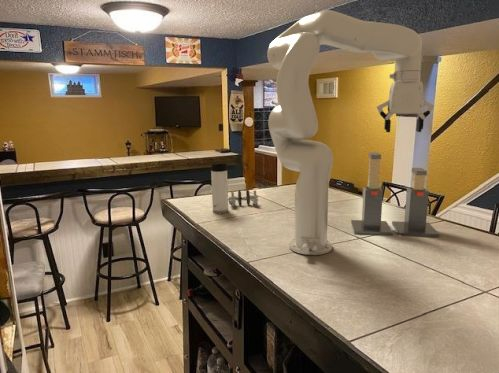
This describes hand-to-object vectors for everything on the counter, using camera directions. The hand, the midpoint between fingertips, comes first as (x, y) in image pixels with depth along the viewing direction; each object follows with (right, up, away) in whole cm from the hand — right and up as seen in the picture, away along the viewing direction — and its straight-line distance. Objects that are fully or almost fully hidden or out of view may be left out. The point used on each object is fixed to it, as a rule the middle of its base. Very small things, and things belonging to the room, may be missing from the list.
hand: (403, 131), depth 125 cm
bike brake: (-53, -25, +42) cm, 73 cm away
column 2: (+5, -31, +2) cm, 32 cm away
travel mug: (-62, -28, +29) cm, 74 cm away
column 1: (-9, -26, +3) cm, 28 cm away
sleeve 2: (+5, -32, +3) cm, 33 cm away
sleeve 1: (-9, -32, +5) cm, 34 cm away
